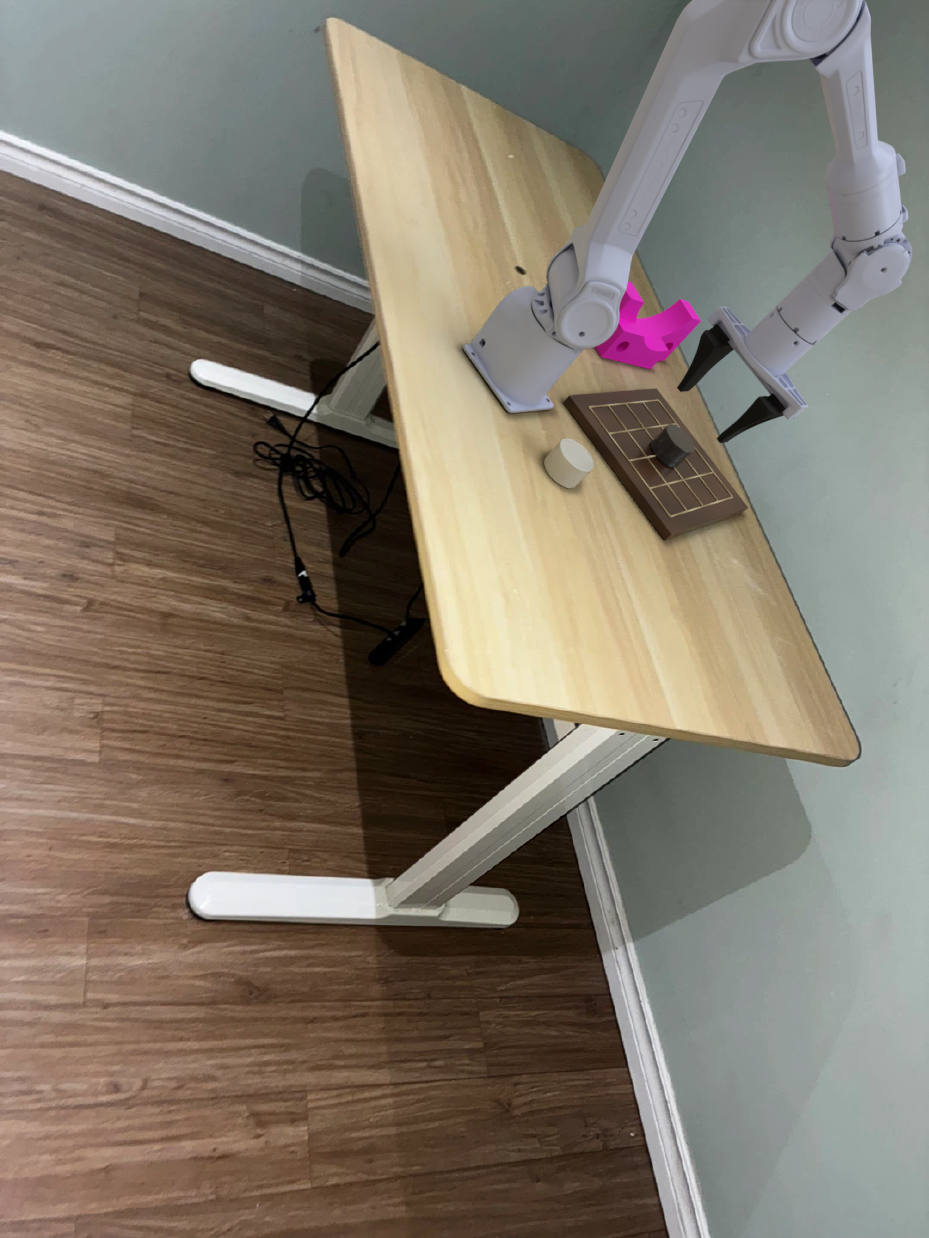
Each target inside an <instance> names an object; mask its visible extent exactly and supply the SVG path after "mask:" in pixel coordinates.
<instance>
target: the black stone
mask: <svg viewBox="0 0 929 1238" xmlns="http://www.w3.org/2000/svg"><path fill="white" fill-rule="evenodd" d="M651 448H652V450H653V452H654V454H655V455H656V456H657V458H658V459H659V460H660V461H661V462H663V463H664V464H665V465H667V466H669V467H672V468H676V467H678V466H679V465H680V464H681V463H682V462H683V461H684V460H685V459H686V458H687V457H689V456H690V455H691V454H692V453H693V452H694V450H695V447H694V444H693V441H692V440H691V438H690V437H689V436H688V434H687V433H686V432H685V431H684V430H682V429H681V428H680V427H678V426H676V425H673V424H669V425H667V426H666V427H665V428H664V429H663V430H662V431H661V432H660V433H659V434H658V435H657V436H656V437H655V438H654V439H653V440H652V441H651Z"/></svg>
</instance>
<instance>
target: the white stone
mask: <svg viewBox="0 0 929 1238" xmlns="http://www.w3.org/2000/svg"><path fill="white" fill-rule="evenodd" d="M543 465H544V468H545V471H546V473H547V474H548V476H550V478H551V480H552V481H554V482H555V483H557V485H559V486H561V487H564V488H566V489H574V488H576V487H577V486H578V485H579V484H580V483H581V482H582V481H583V480H584V479H585V478H586V477H587V476H588V475H589V474H590V473H591V472H592V470H593V469H594V467H595V463H594V459H593V457H592V455H591V453H590V452H589V451H588V449H587V448H586V447H584V445H583V444H582V443H580V442H579V441H577V440H575V439H573V438H570V437H565V438H562V439H561V440H560V441H559V442H558V443H557V444H556V445H555V446H554V447H553V449H552V450H551V451H550V452H549V453H548V454H547V455H546V456H545V458H544V460H543Z"/></svg>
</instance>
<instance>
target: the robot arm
mask: <svg viewBox="0 0 929 1238" xmlns="http://www.w3.org/2000/svg"><path fill="white" fill-rule="evenodd" d="M871 28H872V18H871V14H870V10H869V7H868V3H867V2H866V0H691V1H690V2H689V3H687V4H686V6H685V7H683V10H682V11H681V12H680V14H679V16H678V18H677V19H676V21H675V23H674V26H673V28H672V31H671V33H670V34H669V37H668V39H667V41H666V44H665V46H664V48H663V51H662V53H661V55H660V57H659V59H658V61H657V64H656V66H655V69H654V71H653V73H652V75H651V77H650V80H649V82H648V84H647V86H646V88H645V91H644V93H643V96H642V97H641V100H640V102H639V104H638V106H637V109H636V111H635V113H634V116H633V118H632V120H631V122H630V124H629V127H628V129H627V131H626V133H625V135H624V138H623V140H622V142H621V144H620V147H619V149H618V151H617V154H616V156H615V158H614V160H613V162H612V164H611V167H610V169H609V172H608V174H607V176H606V179H604V183H603V185H602V187H601V190H600V192H599V193H598V196H597V199H596V201H595V203H594V205H593V207H592V210H591V211H590V214H589V216H588V218H587V221H586V223H584V224H581V225H578V226H576V227H574V228H573V229H572V232H571V234H570V236H569V237H568V240H567V241H566V242H565V244H564V245H563V246H562V247H560V249H558V250H557V252H555V253H554V254H553V256H552V257H551V258H550V260H549V262H548V265H547V267H546V271H545V272H546V274H545V278H546V283H545V285H544V286H543V288H542V289H541V290H540V291H539V290H538V288H536V287H534V286H532V285H523V286H521V287H518V288H515V289H513V290H512V291H511V292H509V293H508V294H507V295H505V296H504V297H503V298H502V299H501V300H500V301H499V302H498V304H497V305H496V306H495V307H494V309H493V310H492V312H491V313H490V315H489V316H488V318H487V319H486V321H484V323H483V324H482V326H481V328H480V329H479V330H478V332H477V333H476V335H475V336H474V338H473V339H472V340H471V341H470V343H466V344H464V345H463V346H462V350H463V351H464V352H465V354H466V355H467V356H468V358H469V359H470V362H471V363H472V364H473V365H474V367H475V368H476V369H477V371H478V372H479V374H480V375H481V376H482V378H483V379H484V380H485V382H486V383H487V386H488V387H489V388H490V389H491V390H492V392H493V393H494V395H495V396H496V398H497V399H498V400H499V402H500V403H501V405H502V406H503V407H504V409H505V410H506V411H507V412H508V413H510V414H516V413H517V414H518V413H527V412H536V411H537V412H538V411H547V410H553V408H554V402H552V400H551V399H550V397H549V396H548V393H549V392H550V390H552V388H553V386H554V385H555V384H556V383H557V382H558V381H559V380H560V378H561V377H562V375H564V373H565V372H566V371H567V370H568V369H569V367H570V366H572V364H573V363H574V362H575V361H576V359H577V358H578V357H579V356H580V355H581V354H582V353H583V352H584V350H586V349H587V350H588V349H592V348H595V346H598V345H600V344H602V343H604V342H605V341H606V340H608V339H609V338H610V337H611V336H612V334H613V333H614V332H615V330H616V328H617V326H618V323H619V306H620V302H621V299H622V297H623V295H624V293H625V291H626V288H627V284H628V281H629V279H630V271H631V265H632V260H633V256H634V254H635V252H636V250H637V248H638V245H639V244H640V242H641V240H642V238H643V236H644V234H645V232H646V230H647V228H648V226H649V224H650V222H651V220H652V219H653V217H654V214H655V212H656V211H657V208H658V207H659V205H660V203H661V201H662V199H663V197H664V195H665V193H666V191H667V189H668V187H669V185H670V183H671V181H672V180H673V177H674V175H675V173H676V171H677V169H678V167H679V165H680V163H681V161H682V159H683V157H684V156H685V154H686V152H687V150H688V148H689V146H690V144H691V142H692V140H693V138H694V136H695V134H696V132H697V130H698V128H699V126H700V124H701V122H702V120H703V118H704V116H705V114H706V112H707V110H708V108H709V107H710V104H711V102H712V101H713V98H714V96H715V94H716V93H717V91H718V88H719V87H720V84H721V83H722V81H723V79H724V77H726V76H727V75H728V74H730V73H734V72H736V71H739V70H742V69H744V68H747V67H749V66H751V65H755V64H759V63H773V62H774V63H775V62H789V61H790V62H792V61H802V60H808V62H809V63H810V65H811V66H812V68H813V69H814V70H815V71H816V72H817V73H818V75H819V79H820V84H821V89H822V93H823V94H822V95H823V98H824V102H825V107H826V112H827V116H828V121H829V125H830V129H831V130H830V131H831V135H832V139H833V144H834V149H835V155H834V156H833V158H832V160H831V161H830V162H829V164H828V166H827V168H826V169H825V172H824V182H825V189H826V195H827V199H828V205H829V211H830V215H831V221H832V226H833V233H832V235H831V239H830V242H829V248H830V249H831V251H830V252H829V253H828V254H827V255H826V256H825V257H824V258H823V259H821V261H820V262H818V264H817V265H816V266H815V267H813V269H812V270H811V271H810V272H809V273H808V274H807V275H806V276H804V278H802V280H801V281H800V282H799V283H798V284H796V285H795V287H794V288H792V290H790V292H789V293H787V294H786V295H785V297H784V298H783V299H781V301H780V302H778V303H777V305H775V306H774V308H773V309H772V310H770V311H769V312H768V314H766V315H765V317H763V318H762V320H760V322H758V323H757V325H755V327H753V328H752V330H750V329H749V327H747V326H746V324H744V323H743V322H742V320H740V319H739V318H738V317H737V316H736V315H735V314H734V312H732V310H731V309H730V308H729V306H723V305H722V306H720V305H719V306H718V307H717V308H716V309H715V310H714V312H712V313H711V315H710V316H709V317H708V318H707V321H708V323H709V324H710V325H711V326H712V327H711V328H709V329H705V330H704V331H703V332H702V333H701V334H700V337H699V342H698V345H697V348H696V351H695V353H694V357H693V359H692V361H691V363H690V365H689V367H688V369H687V371H686V372H685V375H684V376H683V377H682V379H681V381H680V382H679V384H678V386H676V388H677V390H678V391H679V392H680V393H682V392H683V393H684V392H685V393H686V392H689V391H691V390H692V389H693V388H695V386H696V385H697V384H698V383H700V381H701V380H702V379H703V378H704V377H705V376H706V375H707V374H708V373H709V372H710V371H711V369H713V367H715V366H717V364H718V363H719V362H721V361H722V360H723V359H724V358H725V357H726V356H728V355H729V354H731V353H732V352H733V351H734V352H735V353H736V354H737V355H738V357H739V358H740V359H741V360H742V361H743V363H744V364H745V366H747V368H748V369H749V371H751V373H752V374H753V375H754V376H755V378H756V379H757V380H758V382H759V383H760V384H761V385H762V387H763V388H764V389H765V390H766V392H767V393H768V394H769V395H768V396H767V395H761V396H758V397H757V398H756V399H754V401H753V403H751V405H750V406H749V407H748V408H747V409H746V410H745V411H744V412H743V413H742V414H741V416H739V418H738V419H737V420H735V421H734V422H733V423H732V424H731V425H729V427H727V428H725V429H724V431H722V432H721V433H720V434H719V435H718V436H717V437H716V440H717V442H718V443H719V444H724V443H728V442H729V441H731V440H732V439H734V438H736V437H737V436H739V435H741V434H742V433H744V432H746V431H748V430H750V429H752V428H754V427H756V426H758V425H761V424H764V423H766V422H769V421H772V420H775V419H777V418H781V417H785V419H786V420H794V419H796V418H798V416H800V415H801V414H802V413H803V412H804V411H806V410H807V409H808V408H809V405H808V403H807V401H805V399H804V398H803V397H802V395H801V394H800V393H799V391H798V389H797V388H796V386H795V384H794V382H793V381H792V379H791V378H790V376H789V375H788V372H787V371H788V370H789V369H790V368H791V367H792V366H794V365H795V364H796V363H797V362H798V361H799V360H800V359H801V358H802V357H804V356H805V354H807V353H808V352H809V351H810V350H812V348H813V347H814V346H815V345H816V344H818V343H819V342H820V341H821V340H822V339H823V338H824V337H826V335H828V334H829V333H830V332H831V331H832V330H833V329H834V328H836V326H837V325H839V324H840V323H841V322H842V321H843V320H844V319H845V318H846V317H847V316H848V315H849V314H851V313H852V312H854V311H856V310H860V309H861V308H862V307H864V306H865V305H866V303H868V302H869V301H870V300H871V301H872V300H873V299H876V298H878V297H882V296H885V295H887V294H890V293H891V292H892V291H893V292H894V291H895V290H896V289H897V288H899V287H900V286H901V285H902V284H903V281H902V279H903V278H904V276H905V275H906V273H907V272H908V270H909V267H910V264H911V263H912V260H913V247H912V245H911V243H910V241H909V240H908V238H907V237H906V235H905V234H904V233H903V231H902V230H903V227H904V223H905V222H907V221H908V220H909V211H908V209H907V208H906V206H905V205H904V204H902V199H901V189H900V181H899V177H901V176H902V175H905V174H906V171H907V169H906V161H905V159H904V158H903V157H902V155H901V154H900V153H896V150H895V147H893V146H892V145H891V144H889V143H887V142H885V141H882V140H879V136H878V121H877V109H876V106H877V105H876V93H875V80H874V66H873V51H872V35H871V33H872V32H871V30H872V29H871Z"/></svg>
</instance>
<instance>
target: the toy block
mask: <svg viewBox="0 0 929 1238" xmlns="http://www.w3.org/2000/svg"><path fill="white" fill-rule="evenodd" d="M643 305H645V302H644V300H643V298H642V296H641V295H640V293H639V291H638V290H637V289H636V287H635V285H634V284H633V282H632V281H629V280H628V284H627V288H626V291H625V293H624V295H623V297H622V299H621V302H620V306H619V323H618V326H617V328H616V330H615V332H614V333H613V334H612V336H611V337H610V338H609V339H608V340H606V341H605V342H604V343H602V344H600V345H598V346H595V347H594V348H595V349H596V351H597V353H598V355H599V356H600V358H603V359H606V360H611V361H614V362H615V361H616V362H619V363H624V364H628V365H631V366H636V367H640V368H644V369H648V370H652V368H654V367H655V366H656V364H657V363H658V362H659V361H660V362H664V361H666V359H668V357H669V356H670V355H672V353H673V352H674V351H675V350H676V349H677V348H678V347H679V346H680V344H682V342H683V341H685V340H686V338H687V337H688V336H689V335H690V334H691V333H692V332H693V331H694V330H695V329H696V328H697V326H698V325H699V324H700V323H701V322H702V320H701V318H700V317H699V315H698V314H697V312H696V311H695V310H694V308H693V306H692V305H691V303H690V302H689V301H687V300H684V299H681V298H679V299H677V301H676V302H674V303H673V304H672V305H670V307H668V308H666V309H664V310H663V311H661V312H659V313H656V314H655V315H652V316H649V317H641V318H640V317H639V318H638V315H639V312H640V310H641V309H642V307H643Z"/></svg>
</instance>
